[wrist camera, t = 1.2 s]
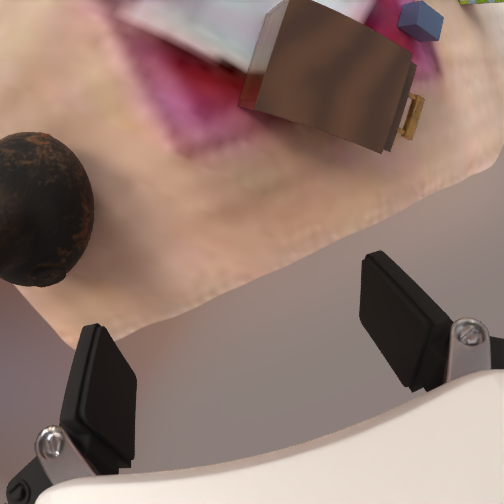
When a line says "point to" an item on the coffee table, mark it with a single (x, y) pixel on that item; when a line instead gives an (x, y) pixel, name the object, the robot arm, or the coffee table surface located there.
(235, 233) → the coffee table surface
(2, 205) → the black vase
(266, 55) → the cabinet
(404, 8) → the block
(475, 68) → the coffee table surface
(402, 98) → the drawer
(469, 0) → the snack box
